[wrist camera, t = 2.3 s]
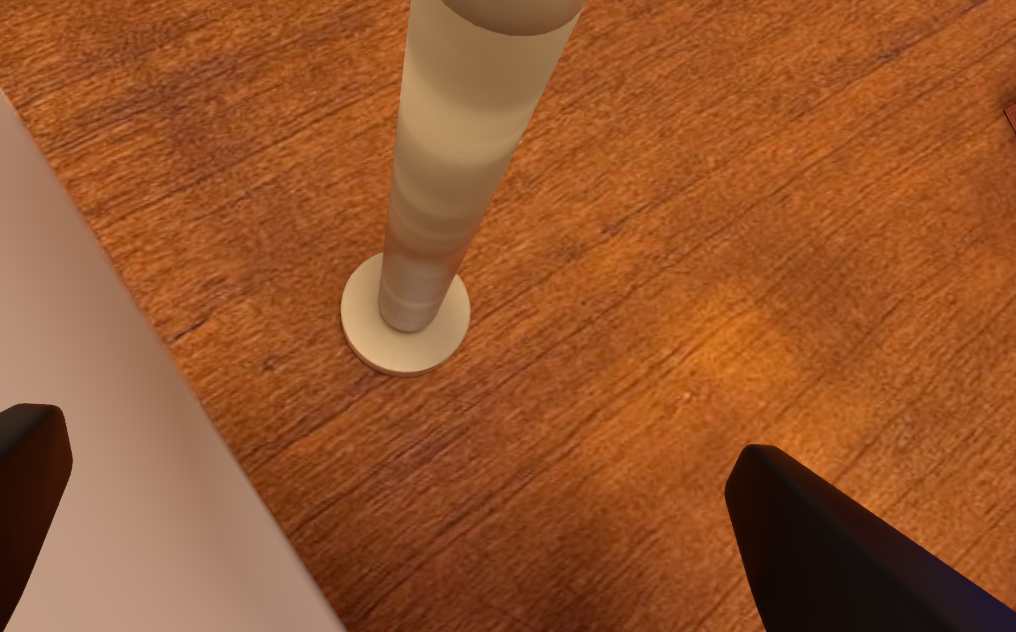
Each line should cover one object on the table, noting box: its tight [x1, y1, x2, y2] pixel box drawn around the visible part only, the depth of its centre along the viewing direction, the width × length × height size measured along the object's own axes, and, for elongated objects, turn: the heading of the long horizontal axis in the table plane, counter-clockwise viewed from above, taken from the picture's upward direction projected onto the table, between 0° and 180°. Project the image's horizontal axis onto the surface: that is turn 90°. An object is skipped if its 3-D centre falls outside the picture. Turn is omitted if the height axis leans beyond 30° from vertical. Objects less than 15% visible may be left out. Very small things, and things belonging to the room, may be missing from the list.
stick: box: [341, 0, 587, 377], centre depth 13 cm, size 4×4×16 cm
